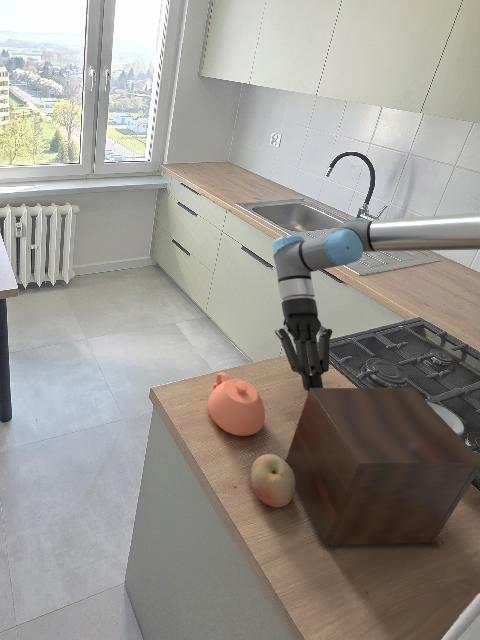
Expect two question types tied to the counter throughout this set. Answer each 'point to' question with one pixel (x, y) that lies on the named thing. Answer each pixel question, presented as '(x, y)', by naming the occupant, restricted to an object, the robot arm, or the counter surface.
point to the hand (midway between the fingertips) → (316, 406)
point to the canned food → (449, 418)
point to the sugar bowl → (236, 406)
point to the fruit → (272, 480)
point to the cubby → (378, 466)
